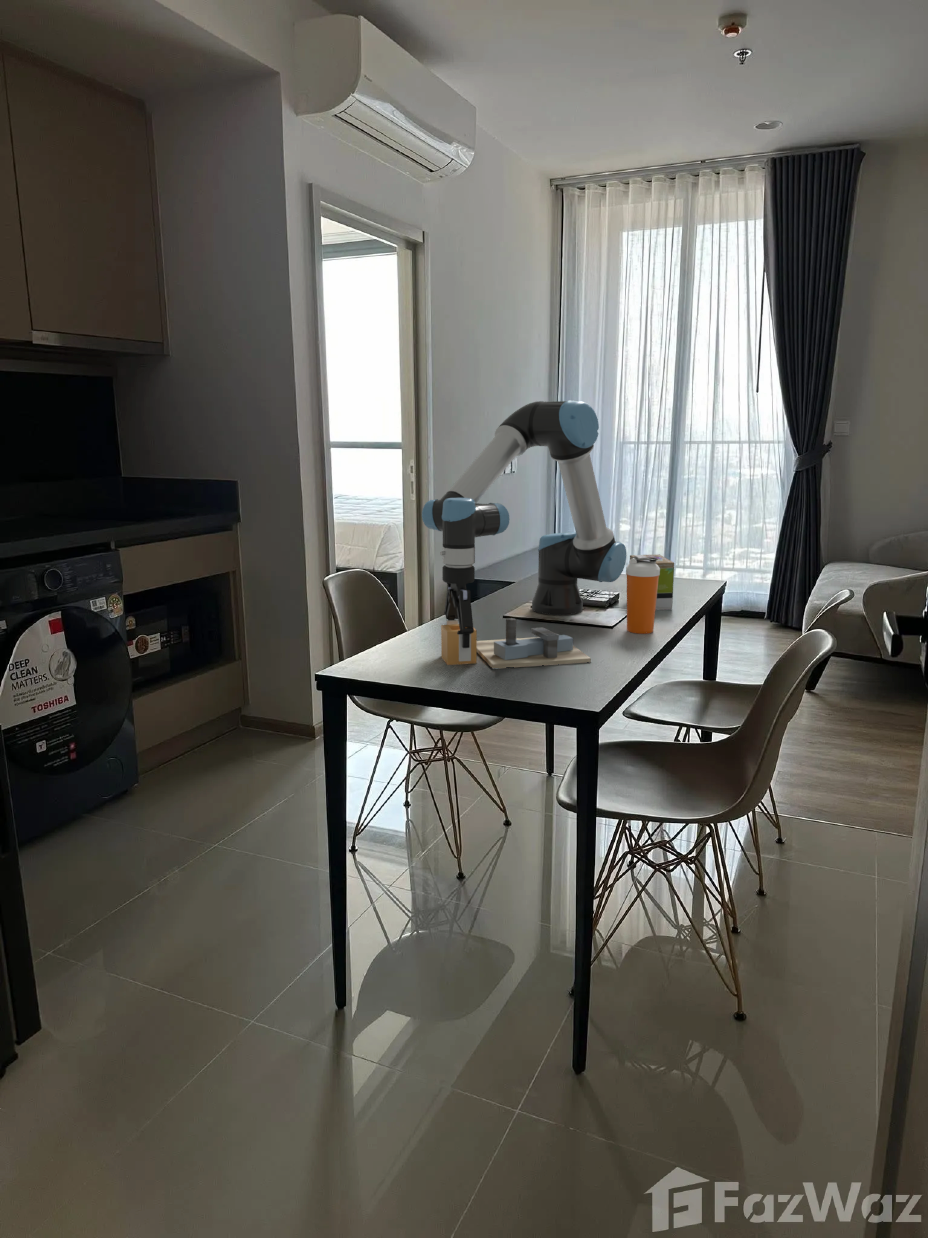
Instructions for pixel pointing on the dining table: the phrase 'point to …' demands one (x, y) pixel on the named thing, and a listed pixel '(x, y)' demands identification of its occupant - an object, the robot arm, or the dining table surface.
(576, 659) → the pintle base
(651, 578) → the shaker bottle
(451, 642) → the collar
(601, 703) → the dining table surface
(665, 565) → the tea box
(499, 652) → the link
